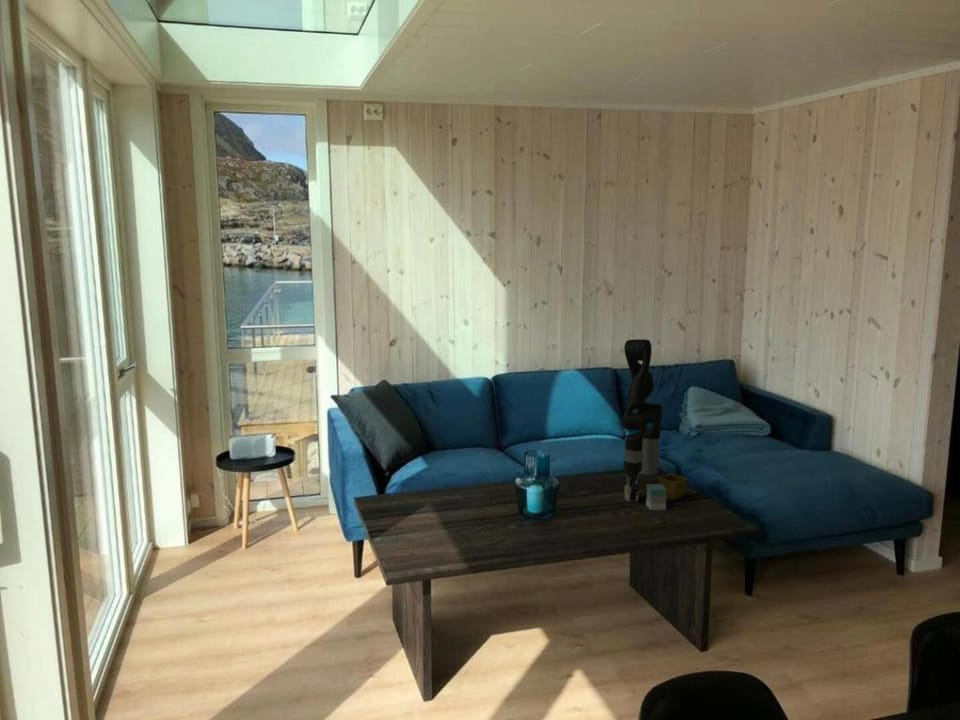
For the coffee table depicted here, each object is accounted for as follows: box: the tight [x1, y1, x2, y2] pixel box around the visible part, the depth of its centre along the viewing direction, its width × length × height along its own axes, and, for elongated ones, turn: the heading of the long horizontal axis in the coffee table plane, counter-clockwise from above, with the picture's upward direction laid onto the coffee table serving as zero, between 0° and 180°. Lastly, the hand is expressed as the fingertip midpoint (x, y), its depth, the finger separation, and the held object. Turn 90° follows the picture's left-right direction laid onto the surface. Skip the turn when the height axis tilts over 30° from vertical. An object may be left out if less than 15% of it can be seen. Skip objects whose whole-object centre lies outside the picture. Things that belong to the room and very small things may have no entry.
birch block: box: [623, 484, 640, 502], centre depth 325 cm, size 5×5×6 cm
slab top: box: [645, 483, 666, 497], centre depth 316 cm, size 6×6×3 cm
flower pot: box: [658, 473, 688, 501], centre depth 327 cm, size 9×9×9 cm
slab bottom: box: [645, 497, 667, 511], centre depth 317 cm, size 6×6×3 cm
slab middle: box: [645, 492, 667, 504], centre depth 316 cm, size 6×6×3 cm
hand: (631, 498), depth 325 cm, fingers closed on birch block, 4 cm apart
